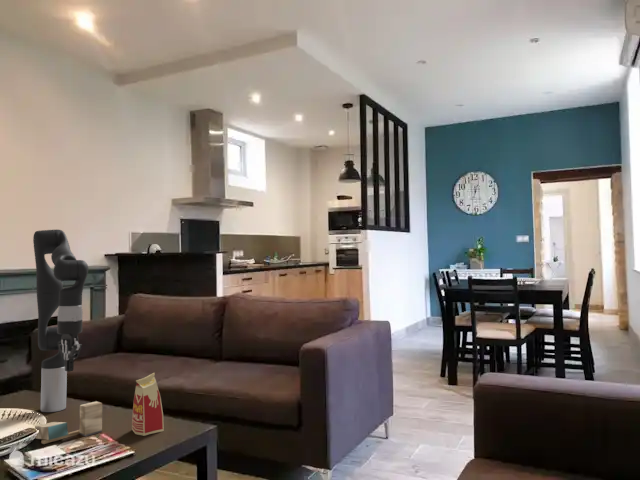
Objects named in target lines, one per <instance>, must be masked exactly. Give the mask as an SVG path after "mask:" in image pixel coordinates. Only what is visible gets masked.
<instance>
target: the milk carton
mask: <svg viewBox="0 0 640 480" xmlns="http://www.w3.org/2000/svg"><path fill="white" fill-rule="evenodd" d="M155 373H156V372H153V373H150V374H149V375H147V376H145V377H143V378H140V379H136V380H135V382H136V385H135V389H134V390H135V391H134V397H133V406H132V413H131V430H132V432H133V433H134V434H135V435H138V436H144V437H145V436H149V435H151V434H156V433H162V432H164V431H165V430H164V429H165V426H164V412H163V405H162V397H161V393H160V391H159V387H158V386H159V385H158V383H157V380H156V377H155Z"/></svg>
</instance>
